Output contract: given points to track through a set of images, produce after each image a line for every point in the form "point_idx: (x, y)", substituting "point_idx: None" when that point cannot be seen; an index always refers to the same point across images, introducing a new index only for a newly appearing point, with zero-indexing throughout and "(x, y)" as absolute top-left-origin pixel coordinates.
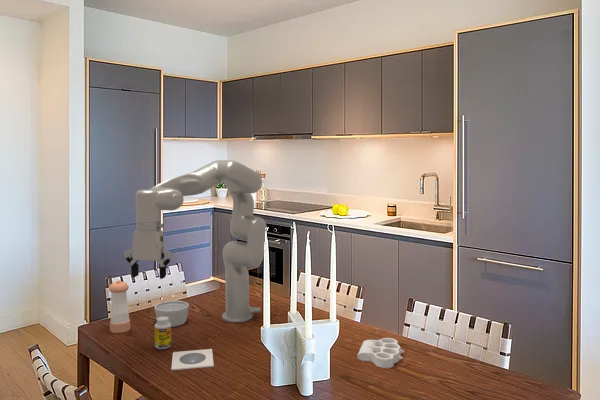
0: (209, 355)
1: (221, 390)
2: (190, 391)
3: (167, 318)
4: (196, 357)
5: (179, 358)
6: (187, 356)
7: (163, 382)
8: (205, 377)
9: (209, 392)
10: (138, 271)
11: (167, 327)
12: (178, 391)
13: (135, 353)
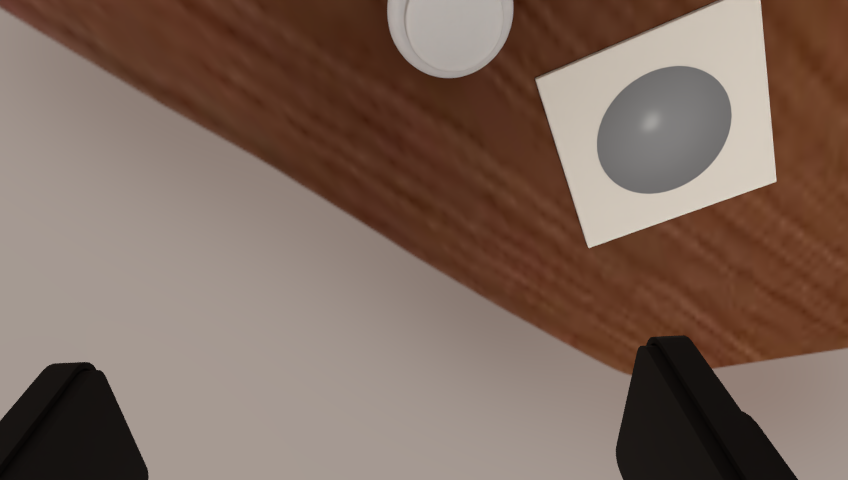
0: (749, 80)
1: (806, 334)
2: None
3: (498, 18)
4: (682, 122)
5: (594, 145)
6: (631, 119)
7: (585, 326)
8: (741, 268)
9: (764, 351)
10: (51, 425)
11: (502, 45)
12: None
13: (334, 118)
